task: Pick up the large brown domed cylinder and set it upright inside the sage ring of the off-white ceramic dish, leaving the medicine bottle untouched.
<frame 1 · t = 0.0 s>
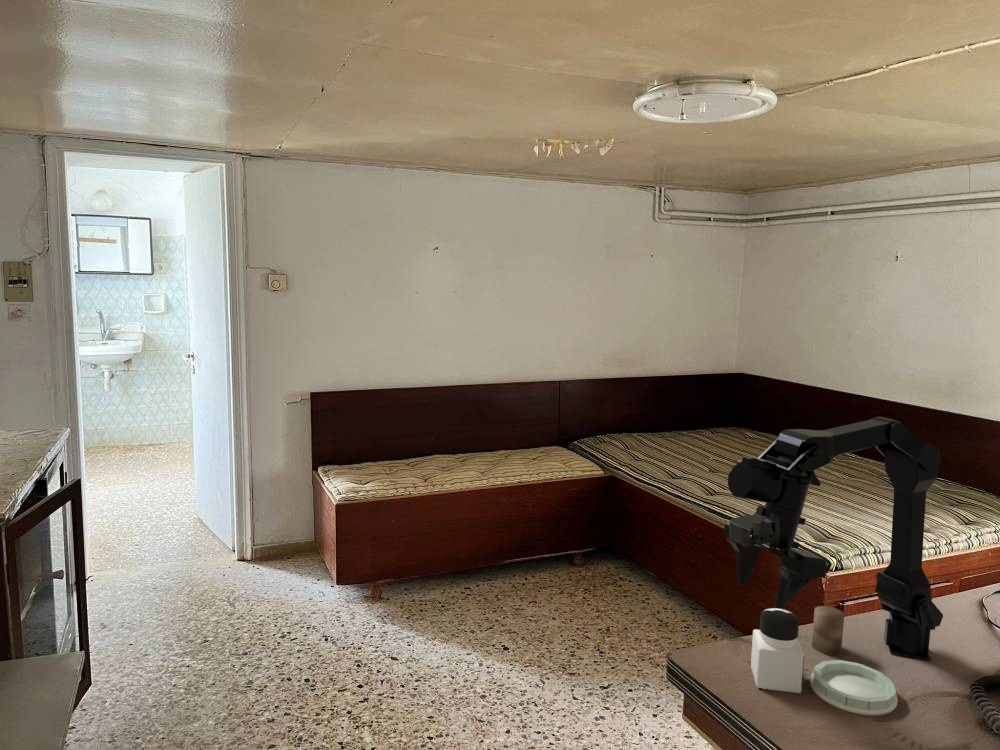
hand: (759, 596, 118), 15 cm above the table, tool pointing down, fingers open, 9 cm apart
medicine bottle: (775, 681, 121), on the table
brown domed cylinder: (826, 647, 132), on the table
ring dish: (852, 691, 118), on the table
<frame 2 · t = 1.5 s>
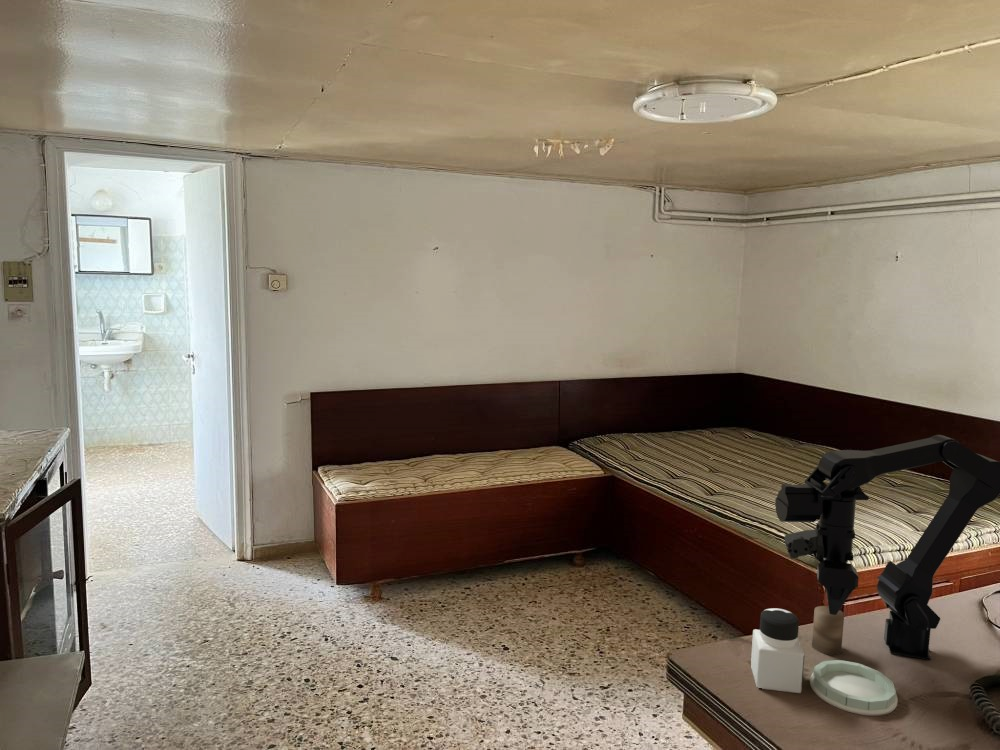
hand: (830, 603, 130), 9 cm above the table, tool pointing down, fingers open, 9 cm apart
nothing on the table moved.
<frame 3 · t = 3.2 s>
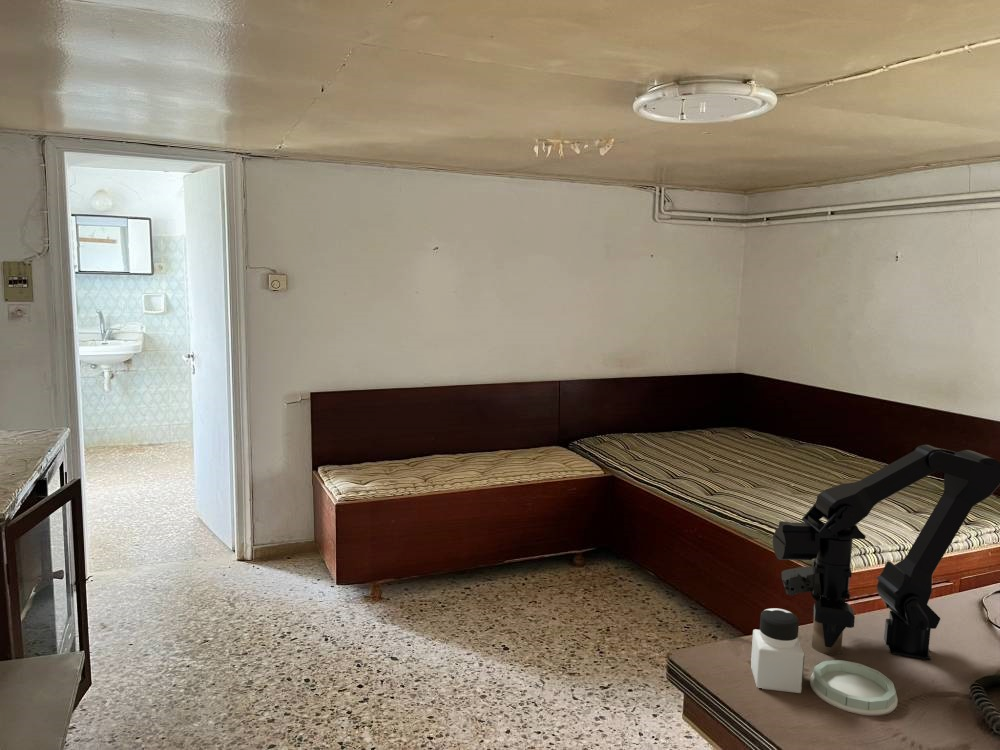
hand: (827, 639, 131), 2 cm above the table, tool pointing down, fingers closed on brown domed cylinder, 5 cm apart
brown domed cylinder: (826, 647, 132), on the table, touching gripper
everything else where it was.
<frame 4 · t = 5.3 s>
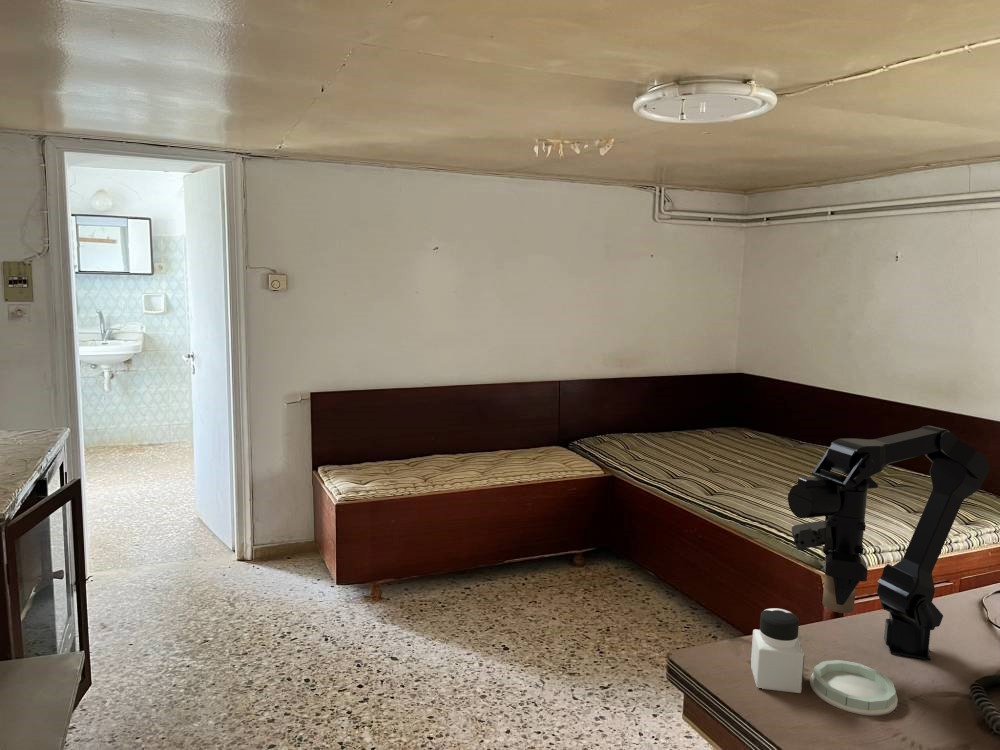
hand: (839, 598, 125), 12 cm above the table, tool pointing down, fingers closed on brown domed cylinder, 5 cm apart
brown domed cylinder: (838, 606, 125), point 11 cm above the table, touching gripper
everything else where it was.
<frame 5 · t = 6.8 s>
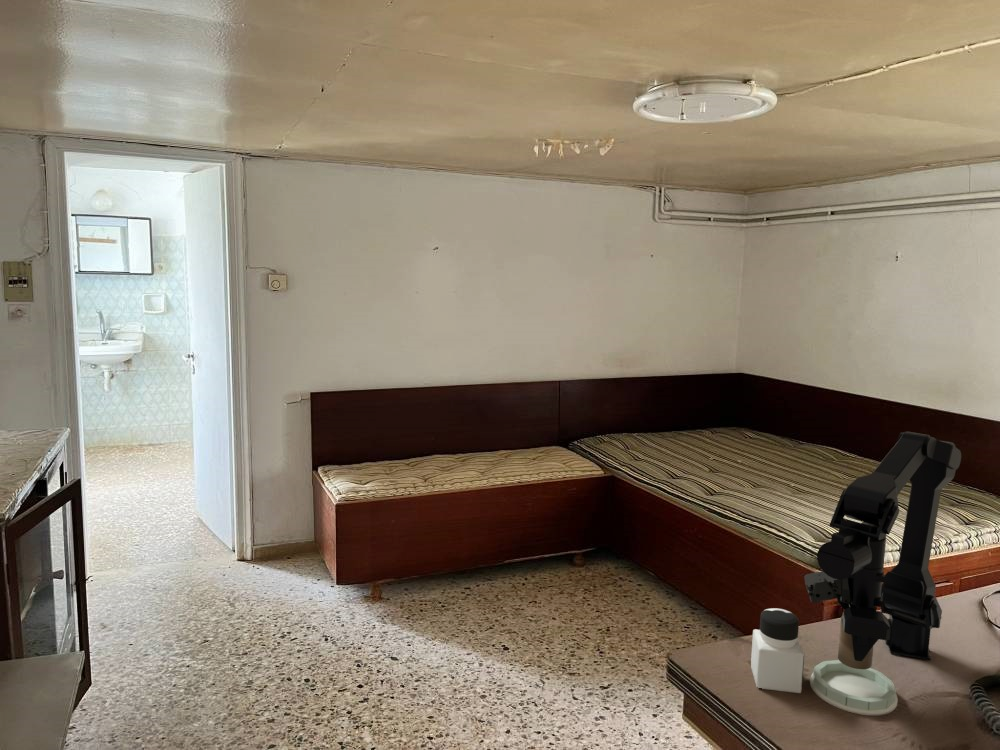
hand: (856, 652, 117), 7 cm above the table, tool pointing down, fingers closed on brown domed cylinder, 5 cm apart
brown domed cylinder: (854, 661, 117), point 5 cm above the table, touching gripper
everything else where it was.
when the fingers open (4 cm above the table, at t = 7.8 s): brown domed cylinder drops 1 cm, resting on ring dish.
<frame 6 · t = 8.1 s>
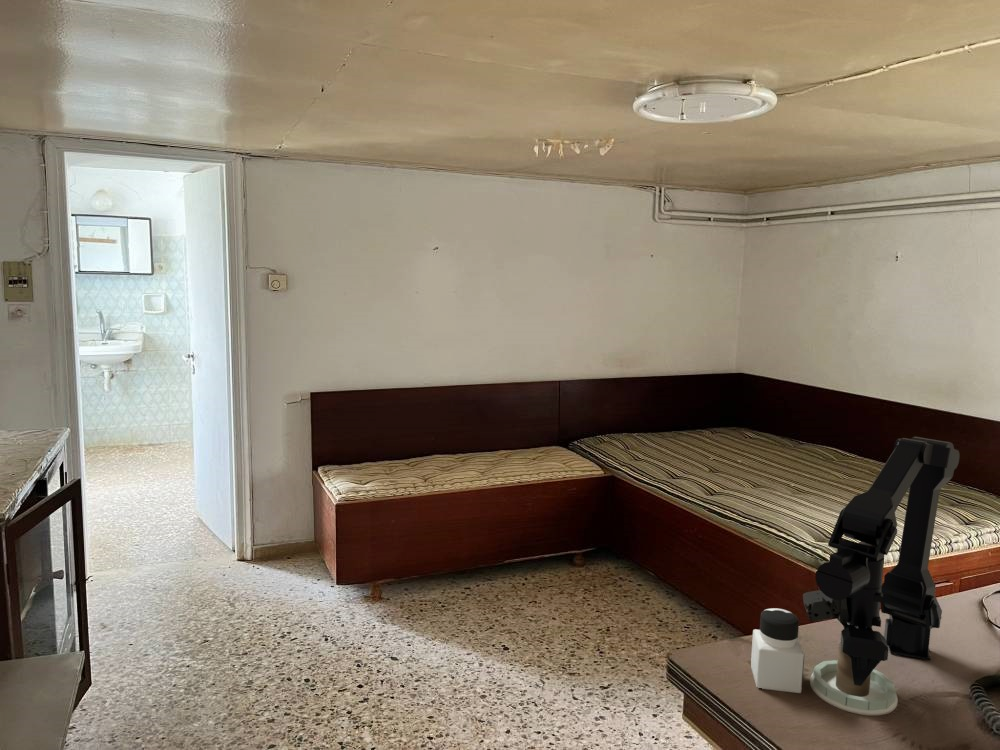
hand: (854, 671, 117), 4 cm above the table, tool pointing down, fingers open, 8 cm apart
brown domed cylinder: (852, 687, 118), point 1 cm above the table, touching ring dish
everything else where it was.
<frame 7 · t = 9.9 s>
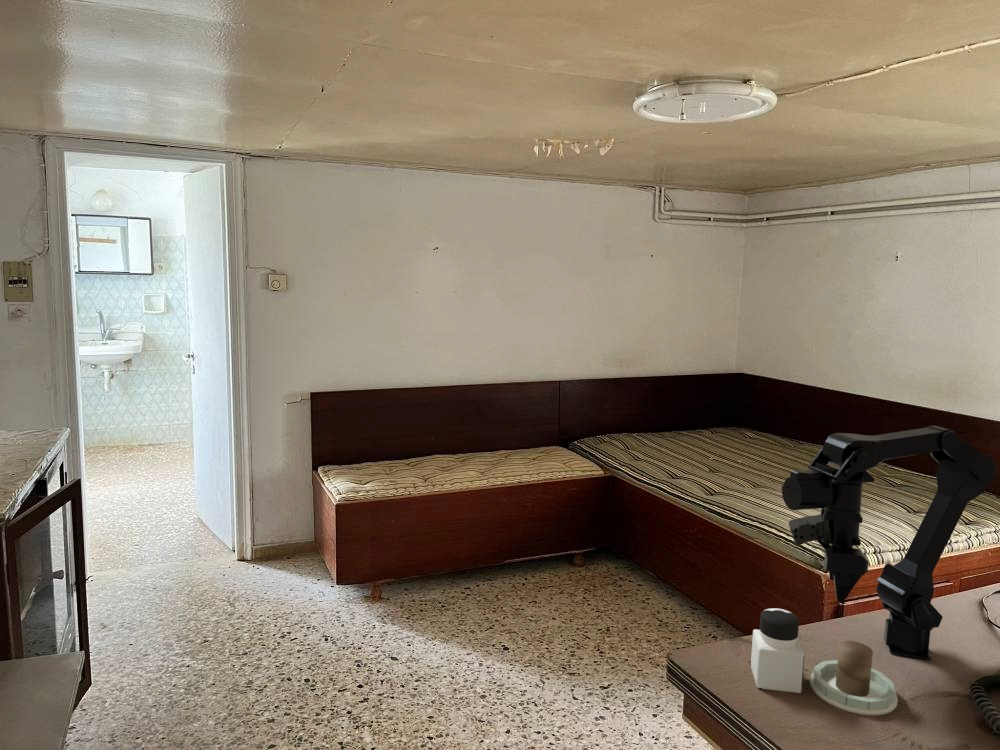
hand: (836, 590, 127), 13 cm above the table, tool pointing down, fingers open, 9 cm apart
nothing on the table moved.
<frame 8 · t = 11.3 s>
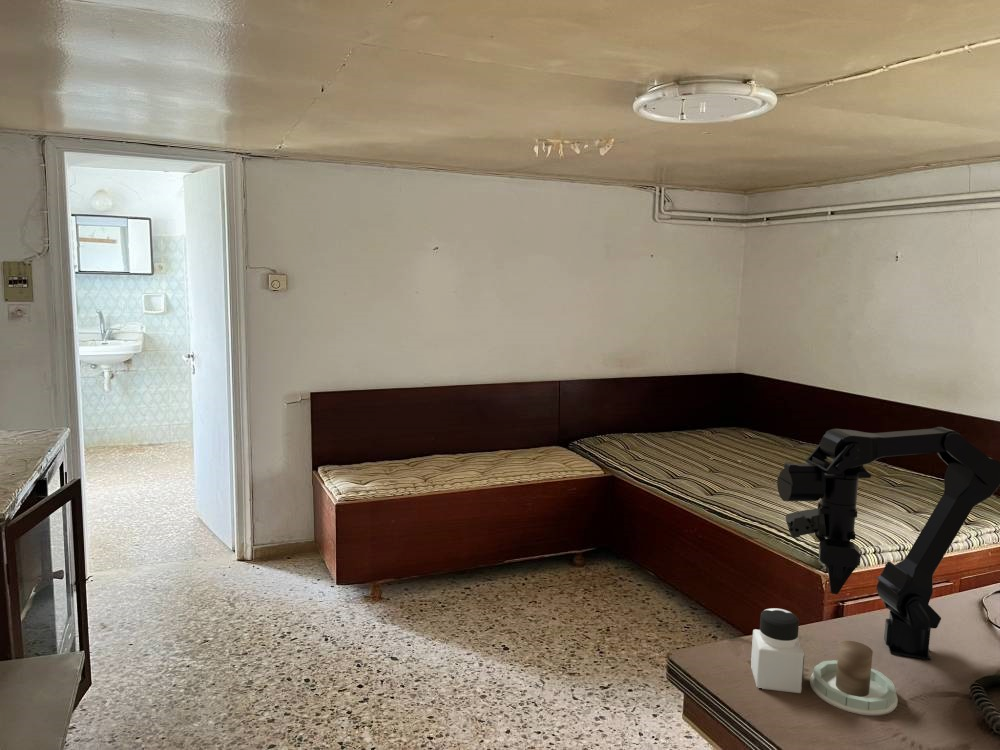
hand: (832, 583, 129), 13 cm above the table, tool pointing down, fingers open, 9 cm apart
nothing on the table moved.
at the end: brown domed cylinder 0.1 cm off-centre on the ring dish, point 0.6 cm above the ring dish's base; brown domed cylinder tilted 0°; medicine bottle moved 0.2 cm from its start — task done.
